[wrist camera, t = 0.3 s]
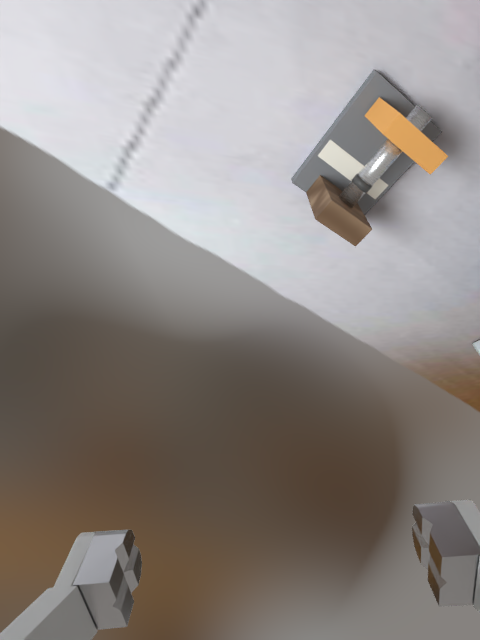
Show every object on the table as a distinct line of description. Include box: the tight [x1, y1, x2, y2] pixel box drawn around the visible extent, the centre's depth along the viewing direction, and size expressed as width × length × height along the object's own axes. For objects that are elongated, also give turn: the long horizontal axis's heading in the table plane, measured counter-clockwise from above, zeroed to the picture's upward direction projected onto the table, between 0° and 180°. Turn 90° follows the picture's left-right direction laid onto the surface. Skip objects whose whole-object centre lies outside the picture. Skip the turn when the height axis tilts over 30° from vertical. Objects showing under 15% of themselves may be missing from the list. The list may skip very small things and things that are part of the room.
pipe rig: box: [291, 70, 442, 246], centre depth 50 cm, size 16×12×10 cm
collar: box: [365, 97, 448, 174], centre depth 47 cm, size 2×8×8 cm, turn 56°
